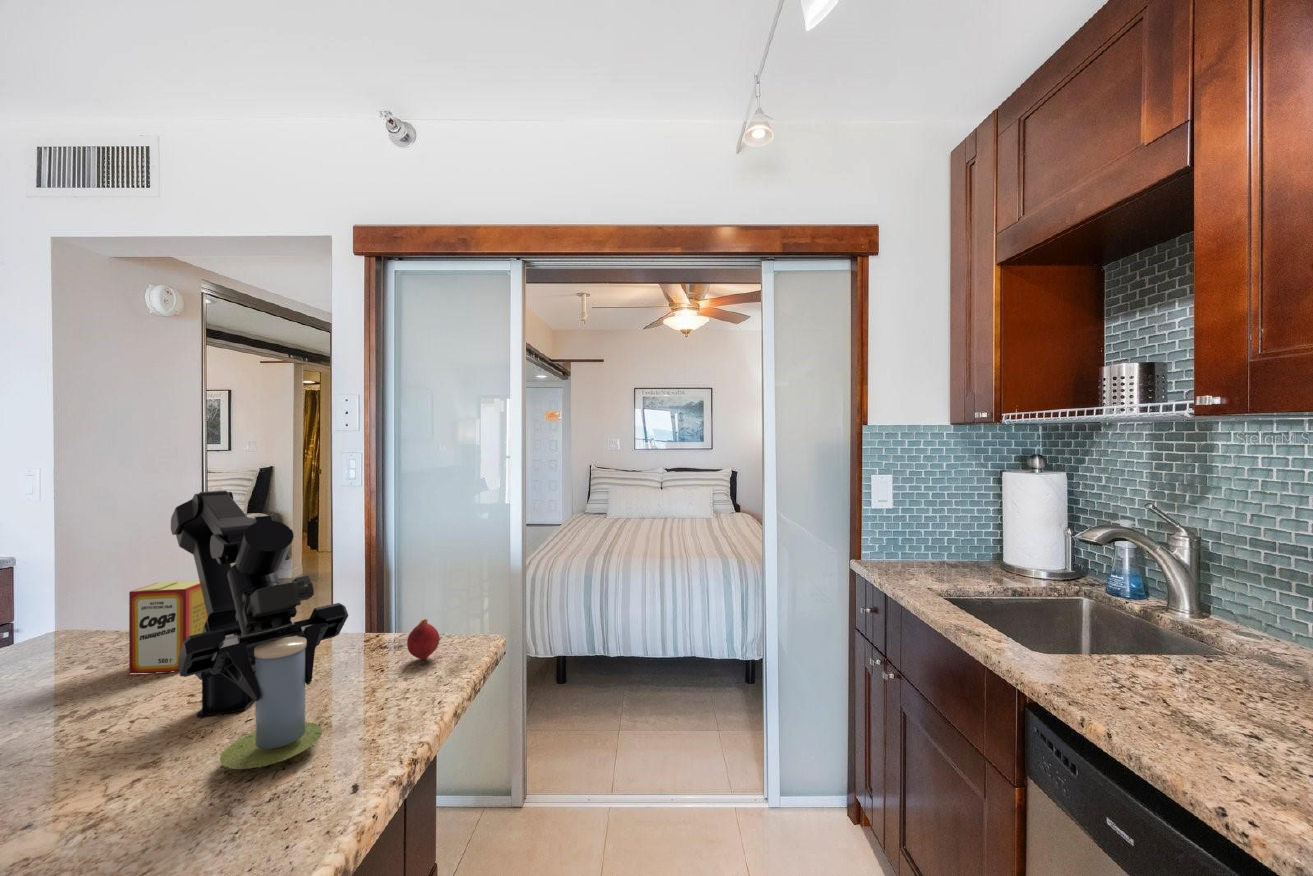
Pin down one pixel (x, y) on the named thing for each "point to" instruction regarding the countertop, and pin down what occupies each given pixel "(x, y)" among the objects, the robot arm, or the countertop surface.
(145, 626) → the baking soda box
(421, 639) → the onion
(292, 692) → the canister
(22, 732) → the countertop surface
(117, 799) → the countertop surface
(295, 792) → the countertop surface
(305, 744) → the mat
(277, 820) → the countertop surface
